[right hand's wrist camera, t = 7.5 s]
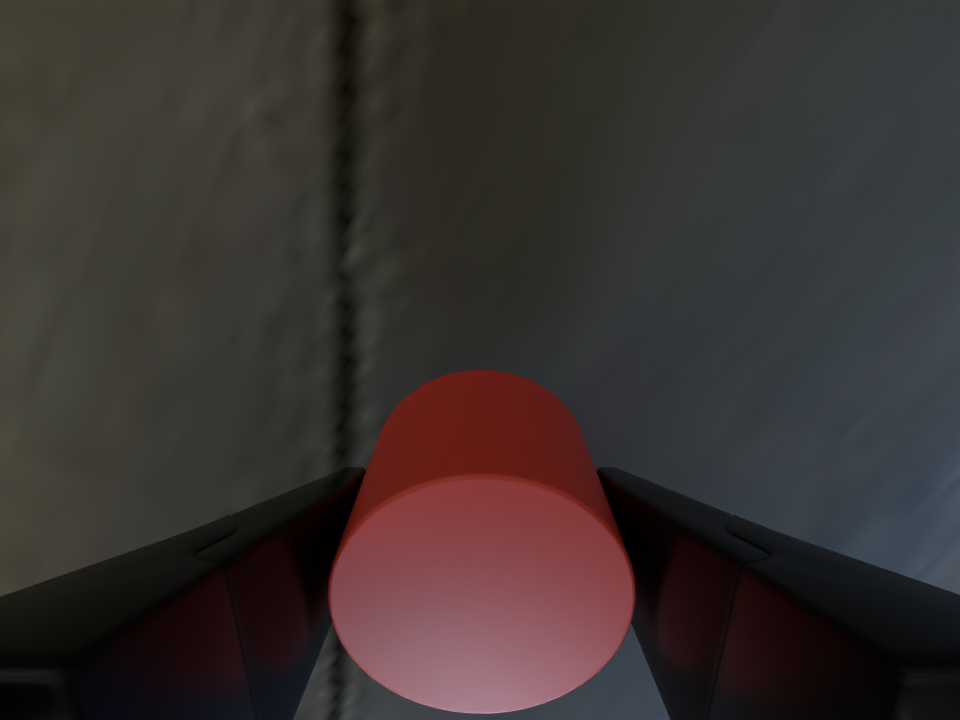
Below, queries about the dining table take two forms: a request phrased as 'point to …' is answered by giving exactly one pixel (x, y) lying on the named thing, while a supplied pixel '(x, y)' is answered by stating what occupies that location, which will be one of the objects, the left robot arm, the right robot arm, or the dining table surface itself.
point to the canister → (481, 551)
